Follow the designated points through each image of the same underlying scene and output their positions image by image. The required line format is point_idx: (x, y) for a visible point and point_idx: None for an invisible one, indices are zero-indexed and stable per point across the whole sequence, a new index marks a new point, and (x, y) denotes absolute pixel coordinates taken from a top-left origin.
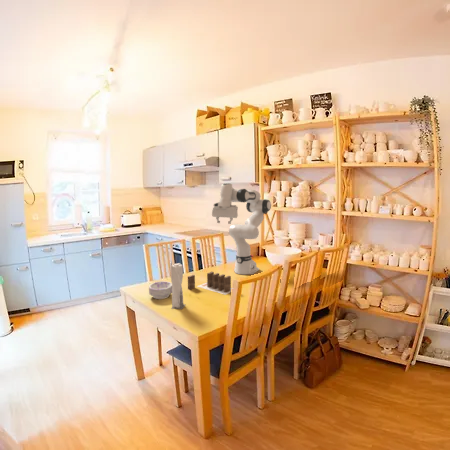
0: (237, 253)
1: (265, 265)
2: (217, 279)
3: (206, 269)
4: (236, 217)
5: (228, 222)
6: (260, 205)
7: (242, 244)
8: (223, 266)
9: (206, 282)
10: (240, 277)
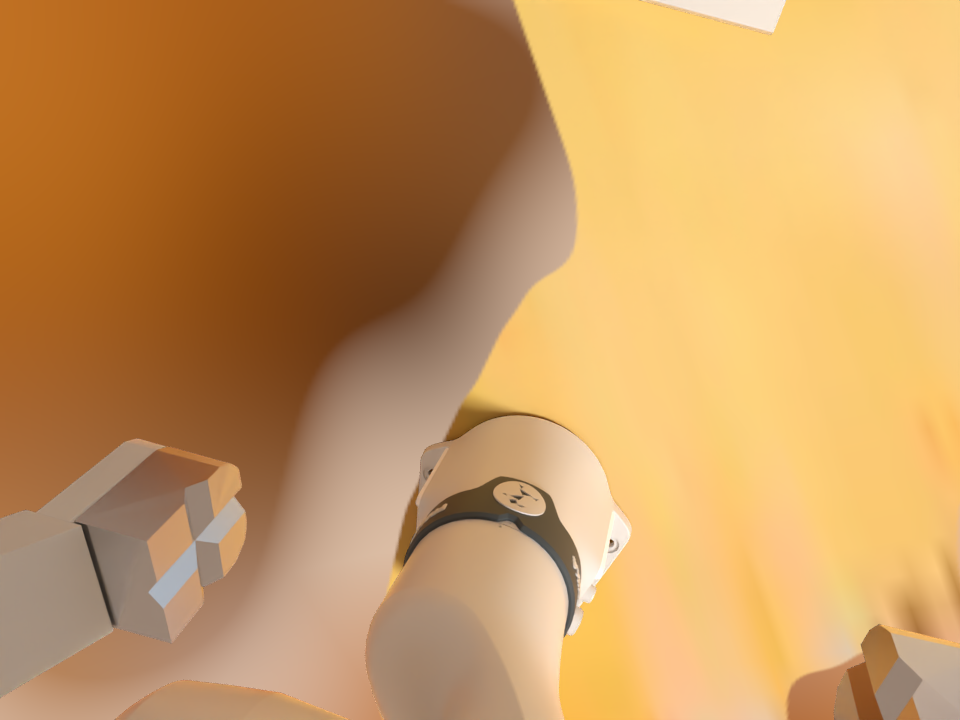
0: (537, 565)
1: None
2: None
3: (951, 493)
4: None
5: (174, 488)
6: None
7: (430, 642)
8: (780, 623)
9: (783, 5)
10: (500, 334)
